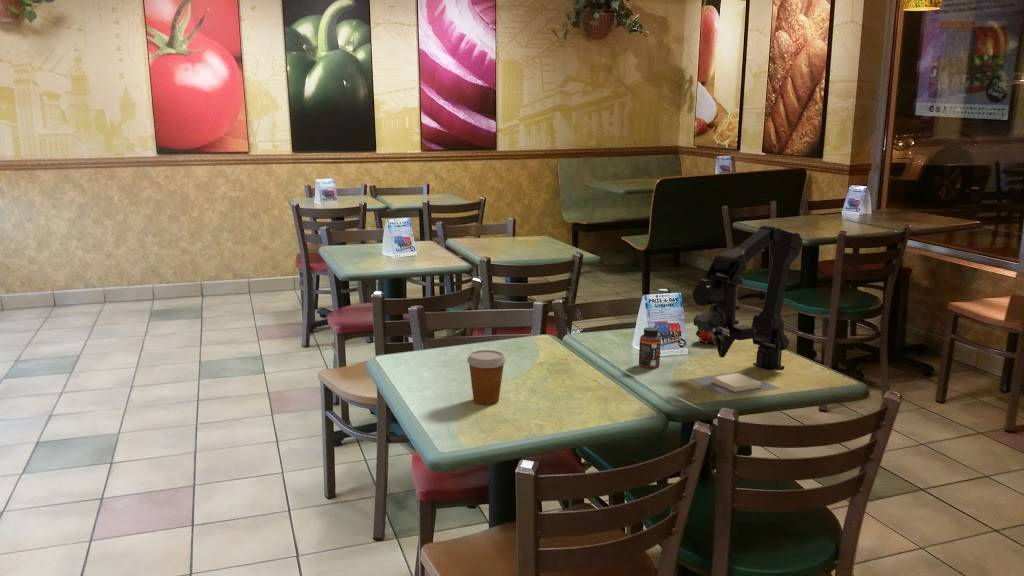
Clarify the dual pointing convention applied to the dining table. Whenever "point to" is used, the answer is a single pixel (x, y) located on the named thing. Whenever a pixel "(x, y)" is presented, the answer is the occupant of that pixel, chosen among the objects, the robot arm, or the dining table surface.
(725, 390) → the mat
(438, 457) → the dining table surface
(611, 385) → the dining table surface
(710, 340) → the dragon fruit
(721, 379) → the tile
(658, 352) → the supplement bottle
